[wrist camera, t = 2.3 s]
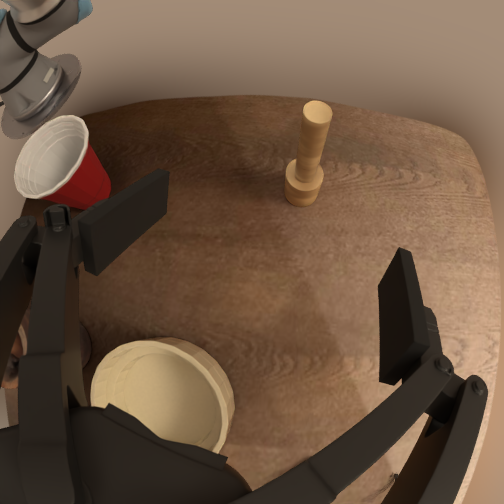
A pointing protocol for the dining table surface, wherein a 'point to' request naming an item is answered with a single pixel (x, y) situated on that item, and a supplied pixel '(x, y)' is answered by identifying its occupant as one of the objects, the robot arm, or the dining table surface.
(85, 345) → the mortar and pestle
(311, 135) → the muddler
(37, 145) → the plastic cup
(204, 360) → the bowl
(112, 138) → the dining table surface
